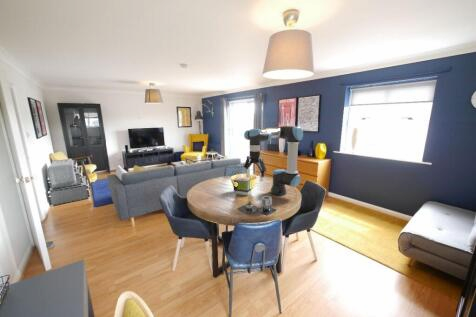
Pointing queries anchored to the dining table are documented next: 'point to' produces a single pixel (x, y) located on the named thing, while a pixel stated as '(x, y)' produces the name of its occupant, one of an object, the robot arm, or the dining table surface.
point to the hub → (249, 207)
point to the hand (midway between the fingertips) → (254, 179)
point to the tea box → (242, 186)
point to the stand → (266, 210)
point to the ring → (266, 200)
